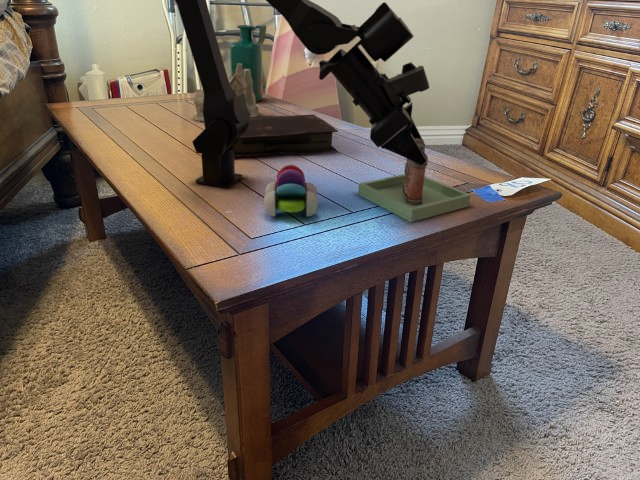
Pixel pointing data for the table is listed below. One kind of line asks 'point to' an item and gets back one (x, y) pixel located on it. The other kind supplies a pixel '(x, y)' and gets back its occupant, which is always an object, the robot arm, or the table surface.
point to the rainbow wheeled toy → (290, 193)
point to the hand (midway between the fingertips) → (423, 154)
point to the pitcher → (249, 56)
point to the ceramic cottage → (239, 87)
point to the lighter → (414, 179)
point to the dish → (433, 203)
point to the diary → (285, 136)
